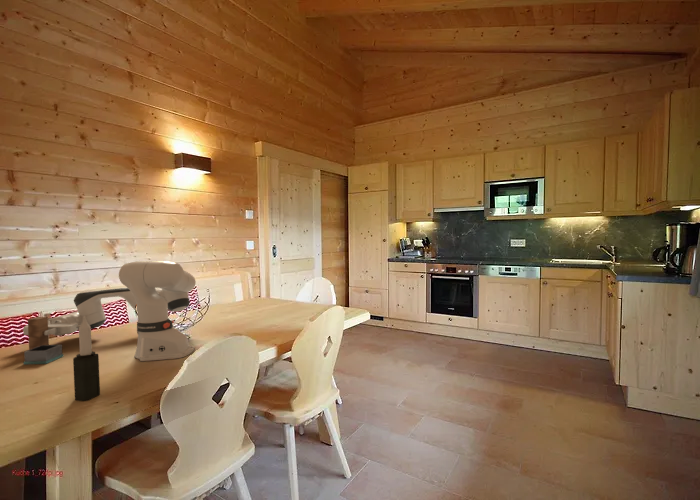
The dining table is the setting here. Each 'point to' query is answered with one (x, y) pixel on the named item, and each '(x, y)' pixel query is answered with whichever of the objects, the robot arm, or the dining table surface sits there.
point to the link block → (37, 332)
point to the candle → (86, 367)
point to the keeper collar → (43, 354)
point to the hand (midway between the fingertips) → (36, 333)
